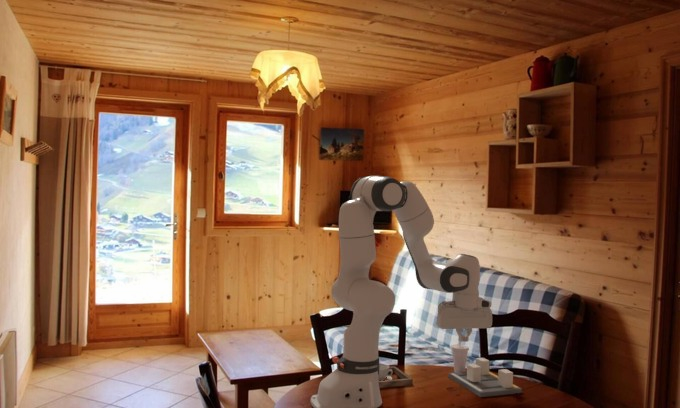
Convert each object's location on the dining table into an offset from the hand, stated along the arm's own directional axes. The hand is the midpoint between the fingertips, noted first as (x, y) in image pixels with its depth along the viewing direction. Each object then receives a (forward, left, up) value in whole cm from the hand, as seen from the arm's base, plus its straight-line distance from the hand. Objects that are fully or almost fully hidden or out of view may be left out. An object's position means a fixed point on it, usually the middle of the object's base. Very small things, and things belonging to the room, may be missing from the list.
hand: (463, 341), depth 189 cm
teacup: (-25, +15, -16) cm, 33 cm away
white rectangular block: (+5, 0, -14) cm, 15 cm away
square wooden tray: (-23, +14, -16) cm, 31 cm away
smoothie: (+8, +15, -16) cm, 23 cm away
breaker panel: (+9, 0, -16) cm, 18 cm away
